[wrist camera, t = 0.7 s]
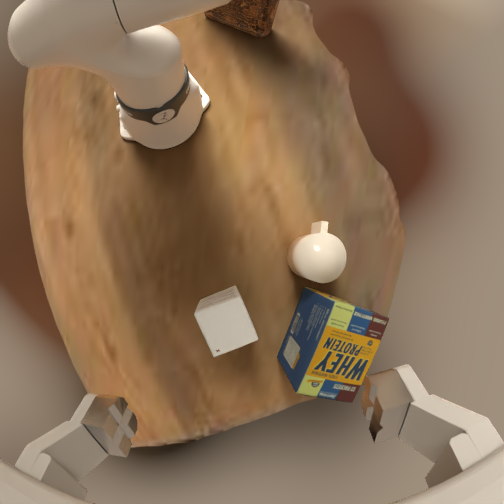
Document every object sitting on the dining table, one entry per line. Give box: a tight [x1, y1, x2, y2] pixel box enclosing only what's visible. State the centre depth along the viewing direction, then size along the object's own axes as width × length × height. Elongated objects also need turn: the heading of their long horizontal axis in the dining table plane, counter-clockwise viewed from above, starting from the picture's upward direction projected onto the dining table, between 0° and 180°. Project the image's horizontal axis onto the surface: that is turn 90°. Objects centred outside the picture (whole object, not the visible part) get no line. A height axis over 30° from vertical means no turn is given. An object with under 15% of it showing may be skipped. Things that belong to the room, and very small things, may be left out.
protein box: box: [277, 287, 389, 403], centre depth 46 cm, size 10×15×16 cm
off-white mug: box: [287, 221, 346, 283], centre depth 49 cm, size 10×8×9 cm
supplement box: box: [194, 285, 258, 357], centre depth 45 cm, size 7×7×13 cm
